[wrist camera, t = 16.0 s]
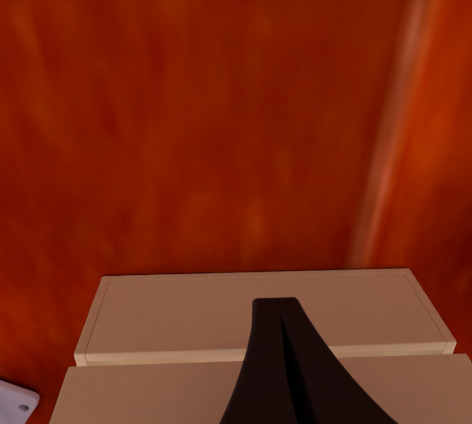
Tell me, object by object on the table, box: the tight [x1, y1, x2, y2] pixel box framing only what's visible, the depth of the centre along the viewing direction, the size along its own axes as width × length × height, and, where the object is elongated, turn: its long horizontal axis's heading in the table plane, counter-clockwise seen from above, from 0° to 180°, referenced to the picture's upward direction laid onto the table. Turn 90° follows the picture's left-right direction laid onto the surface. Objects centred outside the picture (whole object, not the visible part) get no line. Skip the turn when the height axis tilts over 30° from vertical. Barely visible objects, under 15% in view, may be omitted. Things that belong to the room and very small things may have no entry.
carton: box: [74, 268, 457, 367], centre depth 20 cm, size 11×14×4 cm
